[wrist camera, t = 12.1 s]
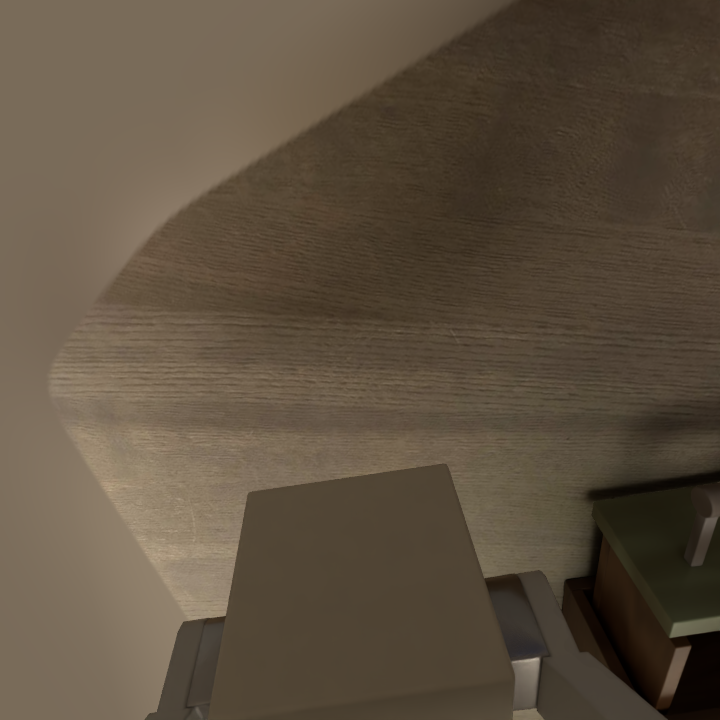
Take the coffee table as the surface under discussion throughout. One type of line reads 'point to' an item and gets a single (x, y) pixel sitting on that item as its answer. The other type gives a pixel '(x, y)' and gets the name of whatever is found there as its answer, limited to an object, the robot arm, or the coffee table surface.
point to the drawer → (663, 593)
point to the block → (361, 607)
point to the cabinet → (604, 638)
